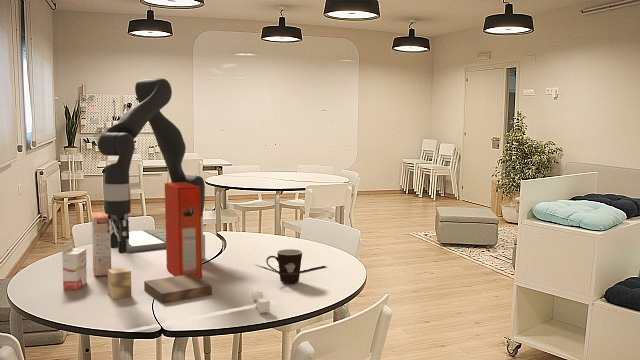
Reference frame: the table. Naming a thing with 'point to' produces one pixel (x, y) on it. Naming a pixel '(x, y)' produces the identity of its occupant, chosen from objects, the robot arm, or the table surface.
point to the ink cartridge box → (73, 267)
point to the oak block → (119, 283)
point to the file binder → (183, 229)
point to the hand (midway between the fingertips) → (118, 250)
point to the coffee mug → (288, 265)
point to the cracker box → (101, 244)
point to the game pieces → (261, 302)
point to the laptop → (145, 239)
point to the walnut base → (177, 288)
